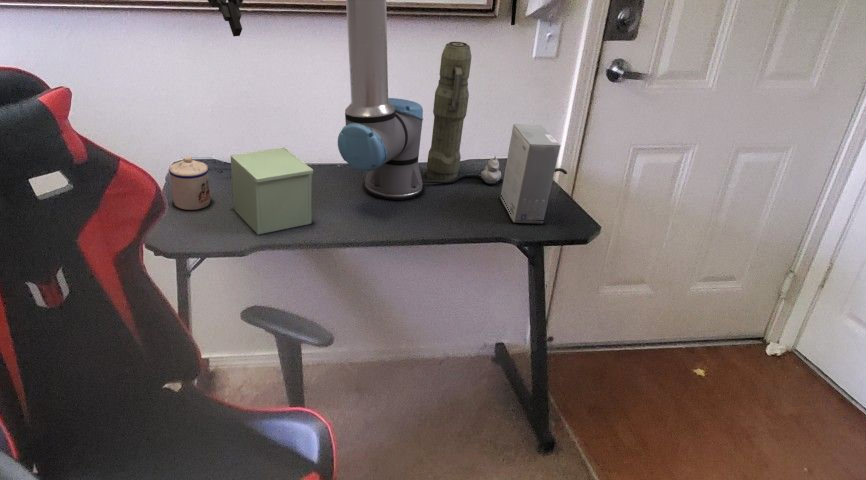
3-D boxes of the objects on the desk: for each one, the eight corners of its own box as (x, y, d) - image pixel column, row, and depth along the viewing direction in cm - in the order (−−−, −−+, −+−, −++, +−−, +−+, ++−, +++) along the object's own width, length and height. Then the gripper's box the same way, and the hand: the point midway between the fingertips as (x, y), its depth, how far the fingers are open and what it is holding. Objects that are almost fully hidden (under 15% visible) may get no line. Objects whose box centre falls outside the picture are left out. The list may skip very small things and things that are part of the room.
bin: (311, 223, 156) (311, 172, 149) (257, 234, 150) (255, 181, 143) (285, 200, 167) (284, 150, 159) (233, 209, 160) (230, 158, 153)
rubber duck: (484, 187, 180) (489, 159, 176) (476, 178, 186) (480, 150, 181) (503, 186, 181) (508, 158, 177) (494, 177, 187) (498, 149, 182)
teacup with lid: (207, 212, 159) (202, 165, 152) (168, 210, 158) (162, 163, 152) (217, 192, 168) (213, 147, 162) (181, 190, 168) (175, 145, 162)
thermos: (451, 168, 190) (468, 38, 171) (463, 184, 181) (482, 49, 161) (421, 169, 189) (434, 38, 169) (431, 185, 180) (447, 48, 160)
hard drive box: (543, 224, 163) (561, 145, 152) (513, 224, 162) (528, 144, 151) (527, 198, 176) (542, 123, 164) (498, 198, 175) (512, 122, 164)
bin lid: (313, 173, 149) (313, 169, 148) (256, 182, 143) (256, 179, 142) (284, 150, 159) (284, 147, 159) (230, 158, 153) (230, 155, 153)
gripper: (229, -50, 156) (260, 40, 154) (175, -50, 151) (206, 44, 148) (237, -74, 150) (269, 20, 148) (180, -75, 144) (213, 23, 142)
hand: (237, 32), depth 148 cm, fingers closed
